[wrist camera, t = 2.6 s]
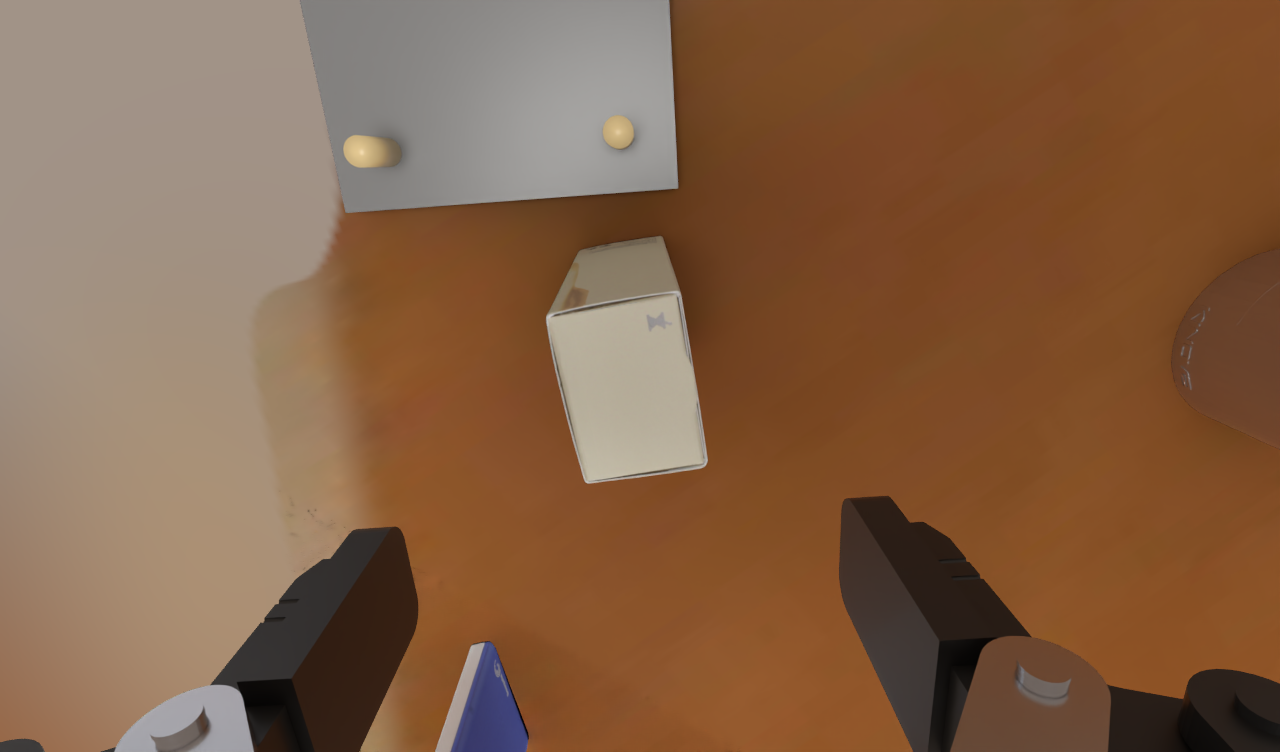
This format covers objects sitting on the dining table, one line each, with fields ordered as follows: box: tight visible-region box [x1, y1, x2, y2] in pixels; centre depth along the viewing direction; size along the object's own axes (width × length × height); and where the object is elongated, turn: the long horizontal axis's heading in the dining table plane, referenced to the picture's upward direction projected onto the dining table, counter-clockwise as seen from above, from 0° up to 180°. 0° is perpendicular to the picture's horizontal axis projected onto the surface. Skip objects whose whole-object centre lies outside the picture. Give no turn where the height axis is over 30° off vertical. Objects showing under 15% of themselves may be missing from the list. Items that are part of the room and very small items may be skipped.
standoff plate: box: [300, 0, 678, 213], centre depth 25 cm, size 15×15×4 cm
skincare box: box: [546, 236, 708, 483], centre depth 25 cm, size 6×4×12 cm
